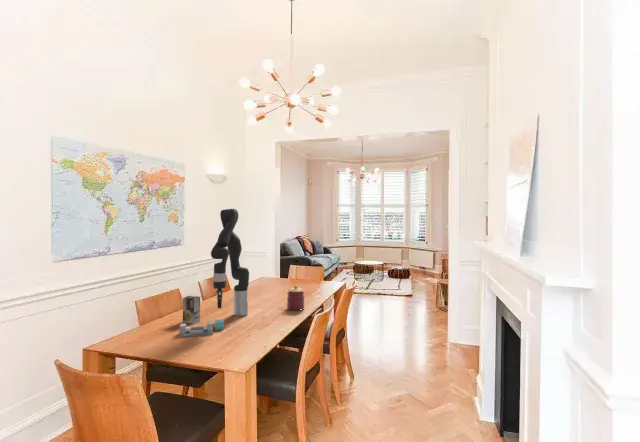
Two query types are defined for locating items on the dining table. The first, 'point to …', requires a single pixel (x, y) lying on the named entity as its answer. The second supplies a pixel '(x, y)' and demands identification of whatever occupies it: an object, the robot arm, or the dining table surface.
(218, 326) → the coupler
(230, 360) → the dining table surface
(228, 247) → the robot arm
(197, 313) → the coffee box
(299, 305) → the canister
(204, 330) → the shaft bench
